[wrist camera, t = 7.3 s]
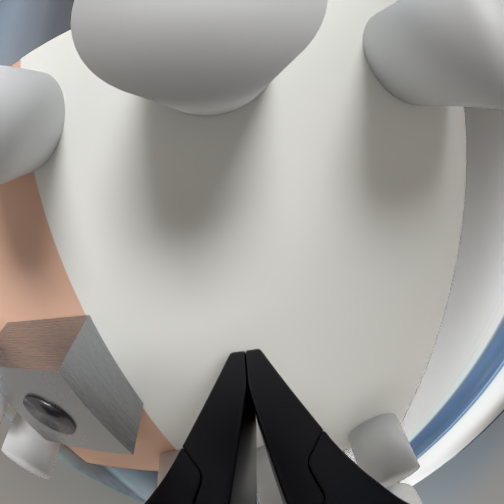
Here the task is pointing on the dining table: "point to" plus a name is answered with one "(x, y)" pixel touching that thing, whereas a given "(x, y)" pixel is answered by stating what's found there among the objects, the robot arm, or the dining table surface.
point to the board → (246, 203)
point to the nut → (68, 384)
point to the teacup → (405, 493)
